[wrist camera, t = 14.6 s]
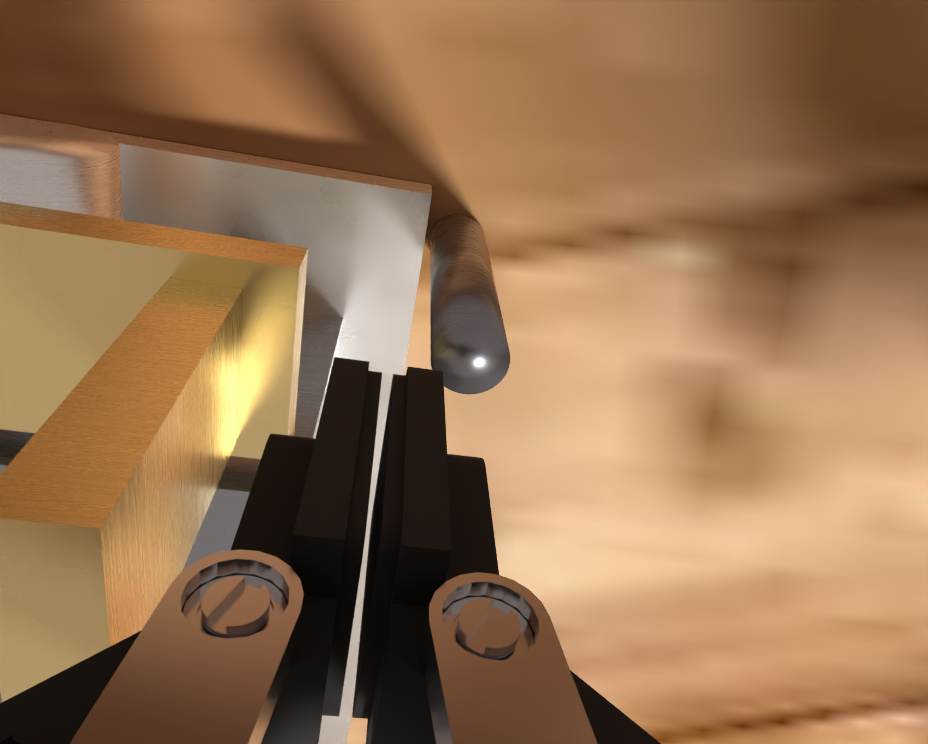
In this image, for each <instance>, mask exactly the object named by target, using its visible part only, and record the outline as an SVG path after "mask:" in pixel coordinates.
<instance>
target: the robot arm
mask: <svg viewBox="0 0 928 744" xmlns="http://www.w3.org/2000/svg"><path fill="white" fill-rule="evenodd" d="M368 370H369V361H361V360H354V359H346V358H339V357H334V361H333V365H332V369H331V374H330V378H329V382H328V387H327V391H326V395H325V400H324V404H323V408H322V412H321V417H320V421H319V425H318V430H317V434H316V438H307V437H298V436H289V435H281V434H272V433H271V434H270V435H269V437H268V440H267V442H266V445H265V448H264V451H263V454H262V457H261V460H260V463H259V466H258V469H257V472H256V475H255V478H254V481H253V484H252V487H251V490H250V493H249V496H248V499H247V502H246V505H245V508H244V511H243V514H242V517H241V520H240V523H239V526H238V529H237V532H236V535H235V538H234V541H233V544H232V547H231V550H230V551H223V552H218V553H215V554H212V555H209V556H206V557H204V558H201V559H199V560H197V561H196V562H194V563H193V564H191V565H190V566H188V567H186V568H185V569H184V570H183V571H182V572H181V573H180V574H179V575H178V576H177V577H176V579H175V580H174V581H173V582H172V583H171V585H170V586H169V588H168V589H167V591H166V593H165V594H164V596H163V597H162V599H161V601H160V602H159V604H158V605H157V607H156V608H155V610H154V612H153V613H152V615H151V616H150V618H149V619H148V621H147V623H146V624H145V626H144V627H143V629H142V630H141V631H139V632H137V633H135V634H133V635H131V636H129V637H128V638H126V639H124V640H122V641H120V642H118V643H116V644H114V645H112V646H110V647H108V648H106V649H104V650H102V651H100V652H99V653H97V654H95V655H93V656H91V657H89V658H87V659H85V660H83V661H81V662H79V663H77V664H75V665H73V666H71V667H70V668H68V669H66V670H64V671H62V672H60V673H58V674H56V675H54V676H52V677H50V678H48V679H46V680H44V681H42V682H41V683H39V684H37V685H35V686H33V687H31V688H29V689H27V690H25V691H23V692H21V693H19V694H17V695H15V696H13V697H12V698H10V699H8V700H6V701H4V702H2V703H0V744H318V743H319V736H320V728H321V721H322V715H324V716H339V714H340V707H341V701H342V694H343V687H344V680H345V673H346V667H347V660H348V653H349V646H350V640H351V633H352V626H353V619H354V612H355V606H356V599H357V592H358V585H359V578H360V572H361V565H362V558H363V550H364V543H365V534H366V526H367V516H368V507H369V497H370V487H371V477H372V468H373V458H374V448H375V438H376V429H377V419H378V409H379V400H380V390H381V380H382V372H374V371H368ZM353 718H368V724H367V737H366V744H661V743H659V742H658V741H657V740H656V739H654V738H653V737H652V736H651V735H649V734H648V733H647V732H646V731H645V730H643V729H642V728H641V727H640V726H638V725H637V724H636V723H635V722H633V721H632V720H631V719H630V718H628V717H627V716H626V715H625V714H624V713H622V712H621V711H620V710H619V709H617V708H616V707H615V706H614V705H612V704H611V703H610V702H609V701H607V700H606V699H605V698H604V697H603V696H601V695H600V694H599V693H598V692H596V691H595V690H594V689H593V688H591V687H590V686H589V685H588V684H586V683H585V682H584V681H583V680H582V679H580V678H579V677H578V676H577V675H575V674H574V673H573V672H572V671H570V669H569V666H568V664H567V661H566V658H565V656H564V653H563V650H562V648H561V645H560V642H559V640H558V637H557V634H556V632H555V629H554V626H553V624H552V621H551V618H550V616H549V614H548V613H547V611H546V609H545V607H544V606H543V604H542V602H541V601H540V600H539V599H538V598H537V597H536V596H535V595H534V594H533V593H532V592H531V591H530V590H529V589H527V588H525V587H524V586H522V585H521V584H519V583H517V582H516V581H514V580H512V579H509V578H506V577H503V576H500V575H499V571H498V563H497V555H496V547H495V539H494V531H493V523H492V515H491V507H490V499H489V491H488V483H487V475H486V467H485V462H484V460H483V459H482V458H477V457H468V456H460V455H451V454H447V445H446V424H445V404H444V383H443V371H437V370H429V369H422V368H414V367H408V369H407V373H406V376H405V375H397V374H393V378H392V384H391V391H390V397H389V404H388V411H387V417H386V424H385V431H384V437H383V444H382V451H381V457H380V464H379V471H378V477H377V484H376V491H375V497H374V504H373V511H372V518H371V527H370V536H369V547H368V557H367V568H366V578H365V589H364V599H363V610H362V620H361V630H360V641H359V651H358V662H357V672H356V683H355V693H354V704H353Z"/></svg>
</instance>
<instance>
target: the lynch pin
mask: <svg viewBox="0 0 928 744" xmlns="http://www.w3.org/2000/svg"><path fill="white" fill-rule="evenodd" d="M0 202H7V203H14V204H20V205H27V206H34V207H40V208H47V209H53V210H60V211H67V212H73V213H80V214H87V215H93V216H100V217H106V218H113V219H120V220H123V208H122V189H121V169H120V150H119V143H118V141H117V140H116V139H115V138H113V137H112V136H110V135H108V134H105V133H102V132H100V131H97V130H93V129H89V128H85V127H81V126H76V125H71V124H64V123H58V122H49V121H39V120H25V119H0Z"/></svg>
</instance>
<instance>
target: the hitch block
mask: <svg viewBox="0 0 928 744" xmlns="http://www.w3.org/2000/svg"><path fill="white" fill-rule="evenodd" d="M0 119H25V120H35V119H29V118H23V117H17V116H11V115H5V114H0ZM39 121H41V120H39ZM89 129H90V128H89ZM93 130H96V129H93ZM97 131H100V132H102V133H105V134H108V135H110V136H112V137H113V138H115V139H116V140H117V141H118V143H119V150H120V169H121V189H122V208H123V220H126V221H133V222H140V223H146V224H153V225H159V226H166V227H173V228H179V229H186V230H193V231H199V232H206V233H212V234H219V235H226V236H232V237H239V238H245V239H252V240H259V241H265V242H272V243H279V244H285V245H292V246H298V247H305V248H308V258H307V271H306V285H305V298H304V311H303V324H302V338H301V351H300V364H299V377H298V390H297V404H296V417H295V430H294V436H298V437H307V438H316V434H317V430H318V425H319V421H320V417H321V412H322V408H323V404H324V400H325V395H326V391H327V387H328V382H329V378H330V374H331V369H332V365H333V361H334V357H339V358H346V359H354V360H361V361H369V370H368V371H374V372H382V380H381V390H380V400H379V409H378V419H377V429H376V438H375V448H374V458H373V468H372V477H371V487H370V497H369V507H368V516H367V526H366V534H365V543H364V550H363V558H362V565H361V572H360V578H359V585H358V592H357V599H356V606H355V612H354V619H353V626H352V633H351V640H350V646H349V653H348V660H347V667H346V673H345V680H344V687H343V694H342V701H341V707H340V714H339V716H324V715H322V721H321V728H320V736H319V743H318V744H347V738H348V732H349V725H350V719H351V712H352V706H353V699H354V693H355V683H356V672H357V662H358V651H359V641H360V630H361V620H362V610H363V599H364V589H365V578H366V568H367V557H368V547H369V536H370V527H371V518H372V511H373V504H374V497H375V491H376V484H377V477H378V471H379V464H380V457H381V451H382V444H383V437H384V431H385V424H386V417H387V411H388V404H389V397H390V391H391V384H392V378H393V374H397V375H404V371H405V364H406V358H407V351H408V345H409V339H410V332H411V326H412V319H413V313H414V306H415V300H416V293H417V287H418V281H419V274H420V268H421V261H422V255H423V248H424V242H425V235H426V229H427V223H428V216H429V210H430V203H431V197H432V185H430V184H424V183H418V182H412V181H405V180H399V179H393V178H387V177H381V176H375V175H369V174H363V173H357V172H351V171H345V170H339V169H333V168H327V167H321V166H314V165H308V164H302V163H296V162H290V161H284V160H278V159H272V158H266V157H260V156H254V155H248V154H242V153H236V152H230V151H223V150H217V149H211V148H205V147H199V146H193V145H187V144H181V143H175V142H169V141H163V140H157V139H151V138H145V137H139V136H132V135H126V134H120V133H114V132H108V131H102V130H97ZM430 267H431V366H432V370H437V371H443V383H444V386H445V387H446V388H448V389H450V390H452V391H454V392H457V393H462V394H477V393H481V392H485V391H487V390H489V389H491V388H493V387H494V386H496V385H497V384H498V383H499V382H500V381H501V380H502V379H503V378H504V376H505V375H506V373H507V371H508V368H509V364H510V353H509V348H508V343H507V338H506V333H505V329H504V324H503V319H502V315H501V310H500V305H499V301H498V296H497V291H496V286H495V282H494V277H493V272H492V268H491V263H490V258H489V253H488V249H487V244H486V239H485V235H484V231H483V229H482V227H481V226H480V224H479V223H478V222H477V221H476V220H474V219H473V218H471V217H469V216H466V215H461V214H455V215H450V216H447V217H445V218H443V219H442V220H440V221H439V222H438V223H437V224H436V226H435V227H434V229H433V231H432V234H431V239H430ZM34 434H35V433H28V432H20V431H11V430H2V429H0V474H1V473H2V471H3V470H4V469H5V468H6V467H7V466H8V464H9V463H10V462H11V461H12V460H13V459H14V458H15V456H16V455H17V454H18V453H19V452H20V451H21V449H22V448H23V447H24V446H25V445H26V444H27V442H28V441H29V440H30V439H31V438H32V437H33V435H34ZM260 460H261V459H254V458H246V457H237V456H230V457H229V459H228V462H227V464H226V467H225V469H224V471H223V474H222V476H221V479H220V481H219V484H218V486H217V488H216V491H215V493H214V496H213V498H212V500H211V503H210V505H209V508H208V510H207V512H206V515H205V517H204V520H203V522H202V525H201V527H200V529H199V532H198V534H197V537H196V539H195V541H194V544H193V546H192V549H191V551H190V554H189V556H188V558H187V561H186V563H185V566H184V568H183V570H184V569H185V568H186V567H188V566H190V565H191V564H193V563H194V562H196V561H197V560H199V559H201V558H204V557H206V556H209V555H212V554H215V553H218V552H223V551H230V550H231V547H232V544H233V541H234V538H235V535H236V532H237V529H238V526H239V523H240V520H241V517H242V514H243V511H244V508H245V505H246V502H247V499H248V496H249V493H250V490H251V487H252V484H253V481H254V478H255V475H256V472H257V469H258V466H259V463H260ZM183 570H182V571H183ZM0 703H2V698H1V693H0Z"/></svg>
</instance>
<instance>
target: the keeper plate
mask: <svg viewBox="0 0 928 744" xmlns="http://www.w3.org/2000/svg"><path fill="white" fill-rule="evenodd" d="M307 258H308V248H305V247H298V246H292V245H285V244H279V243H272V242H265V241H259V240H252V239H245V238H239V237H232V236H226V235H219V234H212V233H206V232H199V231H193V230H186V229H179V228H173V227H166V226H159V225H153V224H146V223H140V222H133V221H126V220H120V219H113V218H106V217H100V216H93V215H87V214H80V213H73V212H67V211H60V210H53V209H47V208H40V207H34V206H27V205H20V204H14V203H7V202H0V429H2V430H11V431H20V432H28V433H35V434H34V435H33V437H32V438H31V439H30V440H29V441H28V442H27V444H26V445H25V446H24V447H23V448H22V449H21V451H20V452H19V453H18V454H17V455H16V456H15V458H14V459H13V460H12V461H11V462H10V463H9V464H8V466H7V467H6V468H5V469H4V470H3V471H2V473H1V474H0V693H1V698H2V702H4V701H6V700H8V699H10V698H12V697H13V696H15V695H17V694H19V693H21V692H23V691H25V690H27V689H29V688H31V687H33V686H35V685H37V684H39V683H41V682H42V681H44V680H46V679H48V678H50V677H52V676H54V675H56V674H58V673H60V672H62V671H64V670H66V669H68V668H70V667H71V666H73V665H75V664H77V663H79V662H81V661H83V660H85V659H87V658H89V657H91V656H93V655H95V654H97V653H99V652H100V651H102V650H104V649H106V648H108V647H110V646H112V645H114V644H116V643H118V642H120V641H122V640H124V639H126V638H128V637H129V636H131V635H133V634H135V633H137V632H139V631H141V630H142V629H143V627H144V626H145V624H146V623H147V621H148V619H149V618H150V616H151V615H152V613H153V612H154V610H155V608H156V607H157V605H158V604H159V602H160V601H161V599H162V597H163V596H164V594H165V593H166V591H167V589H168V588H169V586H170V585H171V583H172V582H173V581H174V580H175V579H176V577H177V576H178V575H179V574H180V573H181V572H182V570H183V568H184V566H185V563H186V561H187V558H188V556H189V554H190V551H191V549H192V546H193V544H194V541H195V539H196V537H197V534H198V532H199V529H200V527H201V525H202V522H203V520H204V517H205V515H206V512H207V510H208V508H209V505H210V503H211V500H212V498H213V496H214V493H215V491H216V488H217V486H218V484H219V481H220V479H221V476H222V474H223V471H224V469H225V467H226V464H227V462H228V459H229V457H230V456H237V457H246V458H254V459H261V457H262V454H263V451H264V448H265V445H266V442H267V440H268V437H269V435H270V434H271V433H272V434H281V435H289V436H294V430H295V417H296V404H297V390H298V377H299V364H300V351H301V338H302V324H303V311H304V298H305V285H306V271H307Z"/></svg>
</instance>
